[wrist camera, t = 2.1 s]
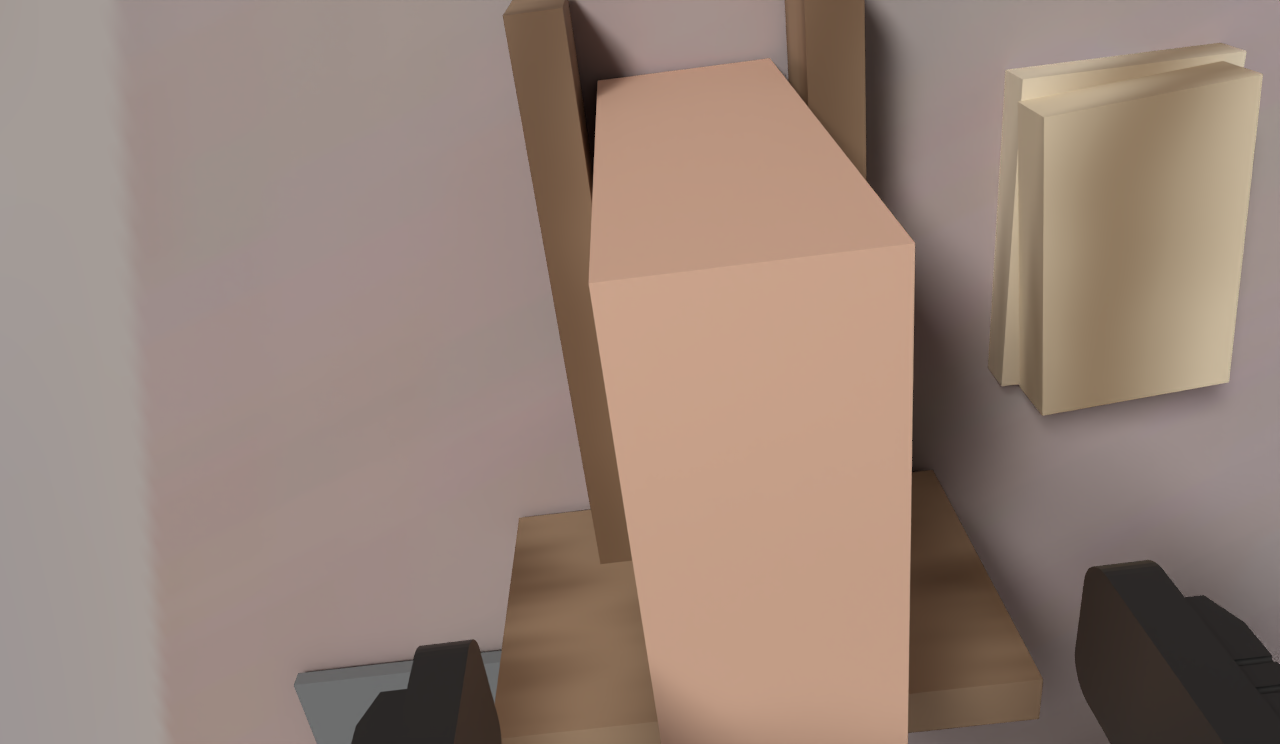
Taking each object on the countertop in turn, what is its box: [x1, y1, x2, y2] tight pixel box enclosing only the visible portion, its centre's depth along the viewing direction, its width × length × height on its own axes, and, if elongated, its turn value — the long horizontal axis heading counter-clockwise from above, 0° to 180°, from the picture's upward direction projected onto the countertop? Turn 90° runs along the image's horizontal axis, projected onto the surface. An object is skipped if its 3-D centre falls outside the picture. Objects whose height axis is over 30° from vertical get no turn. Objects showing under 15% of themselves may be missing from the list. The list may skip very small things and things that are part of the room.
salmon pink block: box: [589, 58, 915, 744], centre depth 19 cm, size 4×10×12 cm, turn 7°
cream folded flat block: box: [988, 43, 1246, 386], centre depth 24 cm, size 5×8×2 cm, turn 7°
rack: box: [495, 0, 1043, 744], centre depth 21 cm, size 12×15×8 cm
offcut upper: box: [1018, 61, 1263, 416], centre depth 23 cm, size 5×8×2 cm, turn 11°
